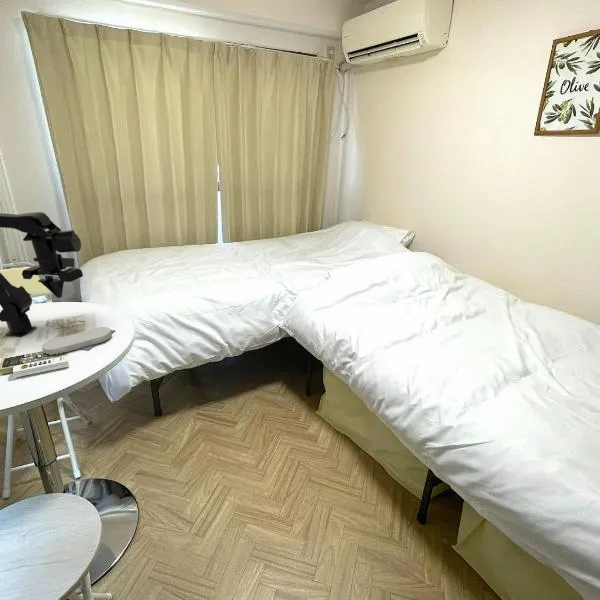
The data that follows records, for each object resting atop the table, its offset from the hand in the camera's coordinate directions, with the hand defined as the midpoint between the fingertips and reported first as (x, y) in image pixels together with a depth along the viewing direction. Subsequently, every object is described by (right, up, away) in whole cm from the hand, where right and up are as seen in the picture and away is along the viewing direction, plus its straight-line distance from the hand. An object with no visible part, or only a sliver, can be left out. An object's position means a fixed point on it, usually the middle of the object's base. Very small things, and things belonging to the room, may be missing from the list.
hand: (59, 297), depth 127 cm
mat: (+12, -14, -2) cm, 19 cm away
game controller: (+7, -12, -3) cm, 15 cm away
